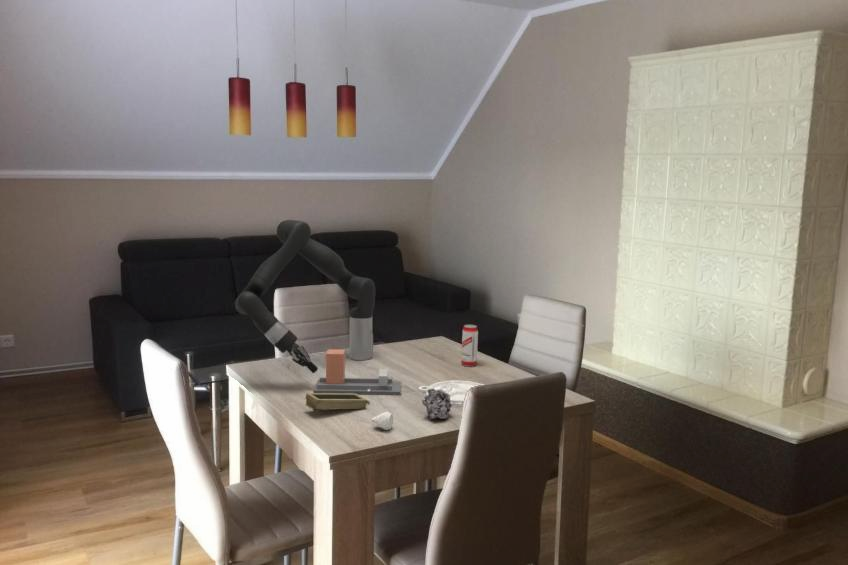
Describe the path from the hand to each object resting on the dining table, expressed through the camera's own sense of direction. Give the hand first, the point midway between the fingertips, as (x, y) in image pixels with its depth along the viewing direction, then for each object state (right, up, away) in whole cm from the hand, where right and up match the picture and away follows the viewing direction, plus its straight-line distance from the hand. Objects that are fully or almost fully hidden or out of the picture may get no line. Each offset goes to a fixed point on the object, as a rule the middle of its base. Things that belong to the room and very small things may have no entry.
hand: (315, 370), depth 254 cm
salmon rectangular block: (+7, -5, +1) cm, 9 cm away
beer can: (+56, -2, +36) cm, 67 cm away
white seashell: (+25, -13, -35) cm, 45 cm away
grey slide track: (+15, -7, +1) cm, 16 cm away
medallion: (+49, -9, -2) cm, 50 cm away
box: (+11, -10, -19) cm, 25 cm away
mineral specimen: (+42, -12, -23) cm, 49 cm away
